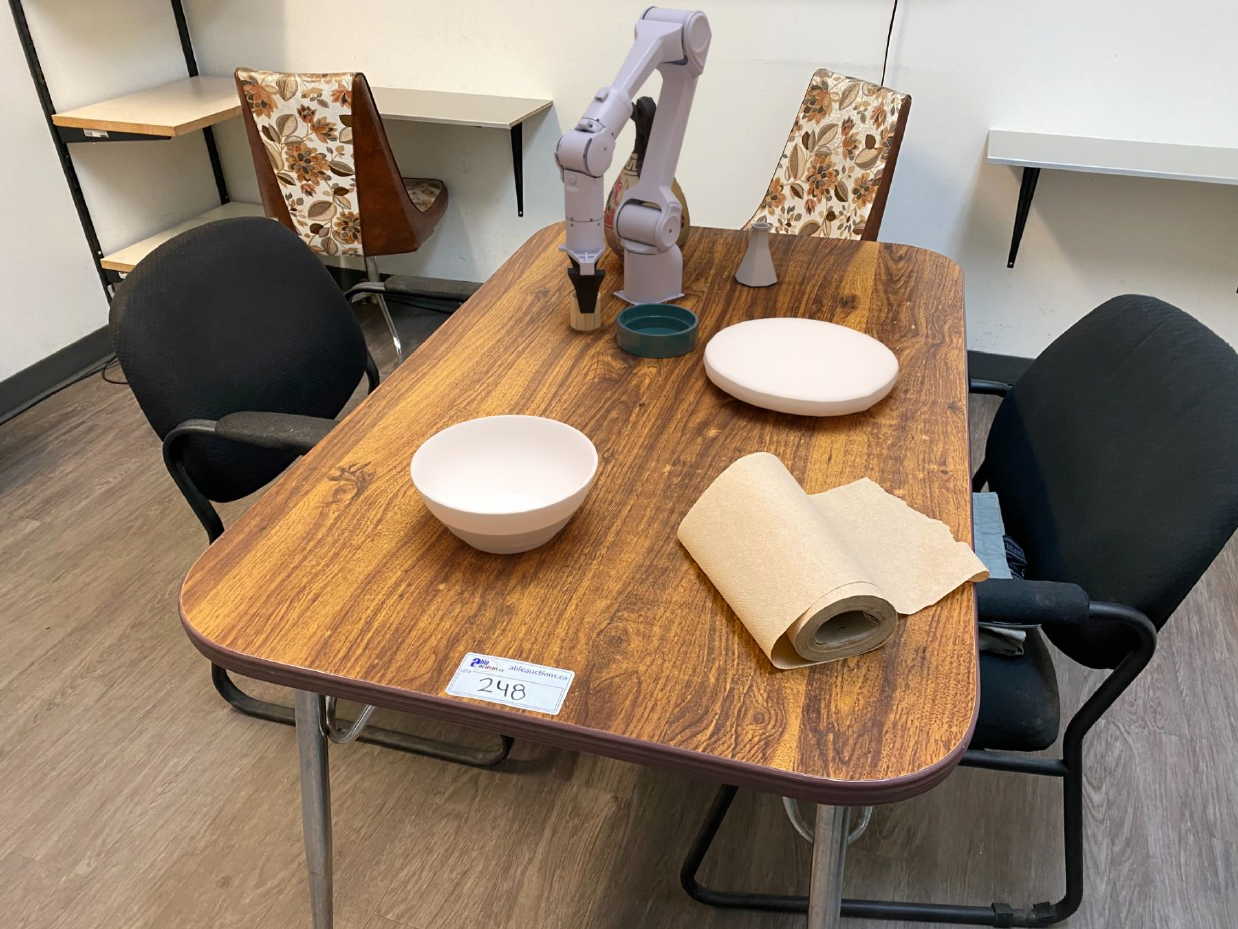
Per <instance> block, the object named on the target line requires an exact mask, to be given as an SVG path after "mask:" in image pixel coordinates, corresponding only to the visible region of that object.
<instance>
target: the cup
mask: <svg viewBox="0 0 1238 929" xmlns="http://www.w3.org/2000/svg"><path fill="white" fill-rule="evenodd" d="M601 296H602V295H601V292H600V291H599V292H598V297H597V303H596V308H595V311H594V313H588V314H581V313H580V310H579V306H578V301H577V296H576V292H575V290H574V291H572V292H571V293H570V294H569V311H570V312H569V314H570V327H571V328H573V329H574V330H576V331H584V332H585V331H587V332H588V331H594V330H596V329H599V328H600V327H602V312H601V311H602V310H601V309H602V308H601V307H602V301H601Z"/></svg>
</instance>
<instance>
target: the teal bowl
mask: <svg viewBox="0 0 1238 929" xmlns="http://www.w3.org/2000/svg"><path fill="white" fill-rule="evenodd" d="M699 327H700V319H699V315H697V314H696V313H695V311H693V310H691V309H689V308H686V307H684V306H681V305H677V304H672V303H664V302H660V303H646V304H639V305H631V306H627V307H626V308H624V309H622V310H620V311H619V313H618V314H617V315H616V344H617V346H618V347H619V348H620V349H621V350H623V351H624V352H626V353H628V354H630V355H634V356H638V357H641V358H648V359H670V358H676V357H680V356H683V355H687V354H688V353H691V352H693V351H694V350H695V349H696V347H697V345H698V343H699V331H700V330H699V329H700V328H699Z"/></svg>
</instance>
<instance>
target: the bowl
mask: <svg viewBox="0 0 1238 929" xmlns="http://www.w3.org/2000/svg"><path fill="white" fill-rule="evenodd" d="M598 467H599V456H598V452H597V450H596V447H595V445H594V444H593V442H592V441H591V440H590V439H589V437H588V436H586V435H585V434H584V433H583V432H581V431H580V430H579V429H577V428H575V427H573V426H571V425H570V424H567V423H564V422H561V421H558V420H555V419H551V418H547V417H543V416H536V415H527V414H500V415H490V416H483V417H479V418H473V419H469V420H466V421H462V422H458V423H456V424H453V425H452V426H449V427H447V428H444V429H442V430H440V431H439V432H436V434H434V435H432V436H431V437H429V438H428V439H426V441H424V442H423V443H422V444H421V445H420V446H419V448H418V449H417V450H416V452H415V453H414V455H413V457H412V459H411V462H410V465H409V476H410V479H411V482H412V484H413V486H414V487H415V490H416V491H417V493H418V494H419V496H420V497H421V499H422V501H423V503H424V504H425V505H426V507H427V509H428V510H429V511H430V513H432V514H433V515H434V517H435V518H437V519H438V520H439V521H440V523H441V524H442V525H443V526H445V527H446V528H448V529H449V531H450V533H452V534H453V535H454V536H456V537H457V538H459V539H460V540H462V541H464V542H465V543H466V544H468V545H469V546H470V547H472V548H475V549H476V550H479V551H481V552H485V553H490V554H497V555H513V554H520V553H525V552H529V551H531V550H534V549H537V548H539V547H541V546H543V545H545V544H547V543H548V542H549V541H550V540H551V539H553V538H554V537H555V535H556V534H557V533H559V532H560V531H561V530H562V529H563V528H565V526H566V525H567V524H568V522H569V521H570V519H571V518H572V517H573V516H574V514H575V513H577V511H578V510H579V508H580V506H582V504H583V502H584V501H585V499H586V497H587V495H588V492H589V490H590V487H591V485H592V484H593V483H592V482H593V481H594V478H595V476H596V473H597V470H598Z"/></svg>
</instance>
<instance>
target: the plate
mask: <svg viewBox="0 0 1238 929" xmlns="http://www.w3.org/2000/svg"><path fill="white" fill-rule="evenodd" d="M702 357H703V359H702V360H703V364H704V368H705V373H706V376H707V377H708V378H709V379H710V381H711V382H712V383H713V384H714V385H715V386H717V387H718V388H719V389H721V390H722V391H723V392H725V393H727V394H729V395H730V396H732V397H734V398H736V399H738V400H739V401H742V402H745V403H746V404H747V403H748V404H750V405H753V406H755V407H759V408H763V409H767V410H772V411H775V412H780V413H785V414H791V415H792V414H793V415H799V416H811V417H833V416H845V415H850V414H854V413H860V412H864V411H866V410H868V409H869V408H871V407H872V406H874V405H875V404H877V403H878V402H880V401H881V400H883V399H884V398H886V396H887V395H888V394H890V393H891V391H892V389H893V388H894V386H895V384H896V382H897V381H898V379H899V375H900V373H899V361H898V359H897V357H896V355H895V354H894V352H893V351H892V350H891V349H889V348H888V347H887V346H886V345H885V344H884V343H882V342H881V341H879V340H877V339H875V338H873V337H872V336H870V335H868V334H866V333H864V332H860V331H858V330H855V329H852V328H850V327H847V326H844V325H840V324H836V323H833V322H828V321H823V320H817V319H810V318H800V317H799V318H798V317H769V318H760V319H758V318H757V319H751V320H746V321H742V322H738V323H735V324H733V325H730V326H727V327H724V328H723V329H722V330H720V331H718V332H716V333H715V334H714V335H713V337H711V339H710V340H709V342H708V343H707V344H706V347H705V349H704V353H703V356H702Z"/></svg>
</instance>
